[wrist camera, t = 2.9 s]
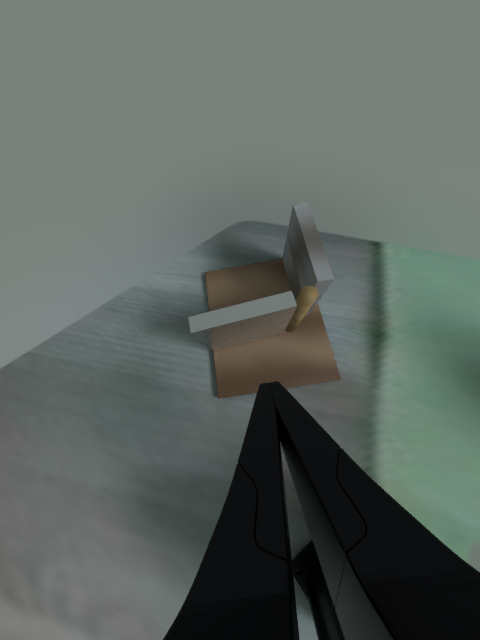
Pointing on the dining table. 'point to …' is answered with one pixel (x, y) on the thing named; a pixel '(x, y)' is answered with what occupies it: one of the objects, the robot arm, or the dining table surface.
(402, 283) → the dining table surface
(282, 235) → the dining table surface
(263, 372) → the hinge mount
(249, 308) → the swinging leaf
